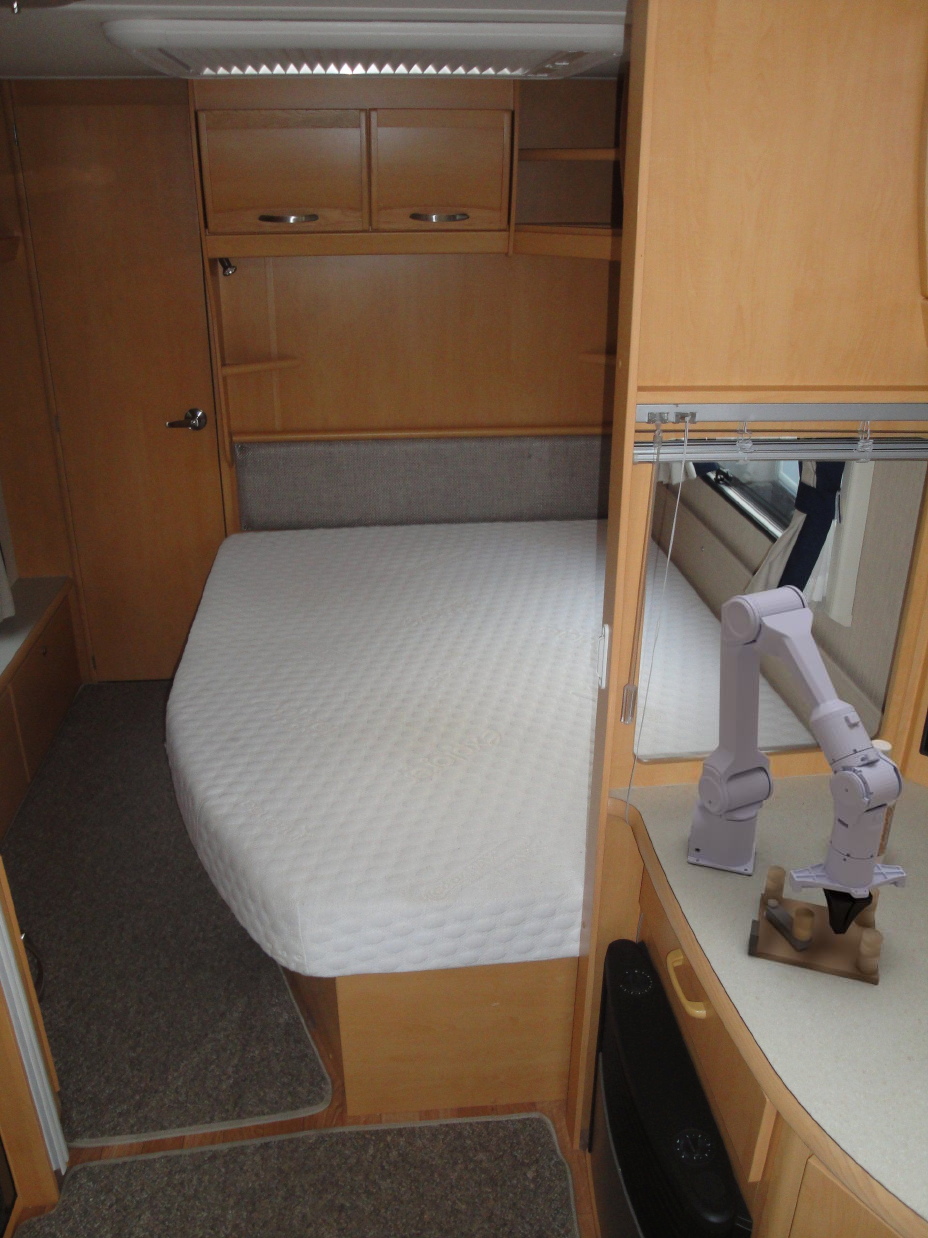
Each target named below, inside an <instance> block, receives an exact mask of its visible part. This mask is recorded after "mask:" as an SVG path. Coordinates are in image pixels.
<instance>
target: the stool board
mask: <svg viewBox="0 0 928 1238" xmlns="http://www.w3.org/2000/svg"><path fill="white" fill-rule="evenodd" d="M786 875H787V871H786V870H785V869H784V867H781V866H779V865H771V866H769V867H768V868H767V874H766V881H765V886H764V892H761V895H760V904H759V915H758V920H757V919H754V918H753V919H752V920H751V927H750V932H749V938H748V939H749V940H748V948H747V949H748V950H747V955H748V956H750V957H756V958H760V959H765V960H769V961H773V962H777V963H782V964H786V965H790V966H794V967H798V968H802V969H808V970H812V971H816V972H819V973H820V972H821V973H826V974H830V975H834V976H837V977H844V978H847V979H852V980H855V981H861V982H865V983H868V984H873V985H876V986H879V982H880V973H879V970H880V969H879V961H880V960H879V958H880V955H881V950H882V947H883V942H884V935H883V933H882V932H881V931H880V930H877V928H876V911H877V907H878V902H879V897H880V894H881V893H880V889H879V887H878V888H875V889H872V890H869V891H870V892H871V894H872V895H873V899H872V903H871V904H870V905H869V906H867V907H866V908H864V909H863V910H862V911H861V912H860V913H859V914H858V915H857V916H856V917H855V919H854V920H853V922H852V923H851V925H850V926H849V928H848V930H847V931H846V933H845V934H835V933H834V931H833V930H832V928H831V926H830V925H829V912H828V906H826V905H820V904H817V903H811V902H808V901H807V902H806V901H802V900H797V899H793V898H788V897H783V894H784V888H785V881H786V877H787V876H786ZM769 899H775V900H777V901H778V902H779V904H780V905H781V906H782V907H783V908H784V909H785V910H786V911H787V912H788V913H789V914H790V915H791V916H792V917H793V918H794V916H795V910H796V909H797V908H799V907H805V908H808V909H810V910H812V911H813V913H814V915H815V917H814V922H813V927H812V933H811V937H812V943H811V947H809V948H806V949H802V950H799V951H798V950H797V949H796V948H795V947H794V946H793V945H792V944H791V943H790V942H789V941H788V940H787V938H786V937H785V936H784V935H783V934H782V933H781V932H780V931H779V930H778V929H777V928H776V927H775V926H774V925H773V924H772V923H771V922H770V920H769V919H768V918H767V917H766V916H765V915H766V908H767V907H768V900H769Z"/></svg>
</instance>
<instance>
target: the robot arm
mask: <svg viewBox="0 0 928 1238" xmlns="http://www.w3.org/2000/svg"><path fill="white" fill-rule="evenodd" d="M720 614H721V619H720V624H721V625H720V630H721V631H720V643H719V644H720V647H719V649H720V651H719V657H720V658H719V662H720V663H719V708H718V709H719V711H718V712H719V713H718V715H719V716H718V717H719V718H718V720H719V721H718V746H717V747H716V748H715V749H714V750H713V751H712V752H711V753H710V754H709V755H708V756H707V757H706V758H705V759H704V761H703V762H702V770H701V771H702V772H701V775H700V777H699V780H698V785H697V786H698V787H697V789H698V791H697V792H698V796H699V797H695V802H694V807H693V812H692V819H691V827H690V829H689V833H688V839H687V840H688V842H689V844H688V845H689V846H688V855H687V862H688V863H690V864H695V865H698V866H699V865H700V866H704V867H709V868H714V869H718V870H724V871H729V872H733V873H738V874H739V873H740V874H743V875H747V876H750V875H751V876H752V875H753V872H754V862H755V855H756V854H755V853H756V846H757V845H756V844H757V843H756V842H755V837H756V835H755V834H756V828H757V820H758V816H759V815H758V814H759V810H760V809H762V808H763V805H764V801H767V800H769V799H770V798H771V797H772V796H773V794H774V793H773V792H774V789H775V787H774V786H775V785H774V778H773V775H772V772H771V768H770V767H771V766H770V765H771V764H770V763H771V759H770V758H769V757H768V755H766V754H765V752H763V751H761V750H760V749H758V746H759V745H758V743H759V741H758V740H759V733H758V732H759V710H760V709H759V706H760V705H759V704H760V676H761V675H760V674H761V673H760V672H761V667H760V666H761V652H763V653H765V654H769V655H773V656H776V657H779V658H781V660H782V661H783V663H784V665H785V667H786V668H787V670H788V672H789V674H791V676H792V678H793V680H794V681H795V683H796V685H797V686H798V688H799V690H800V692H801V693H802V695H803V696H804V698H805V700H806V701H807V703H808V704H809V706H810V708H811V710H812V712H811V715H810V719H809V726H810V729H811V731H812V732H813V735H814V737H815V739H816V741H817V742H818V745H819V747H820V749H821V751H822V753H823V754H824V758H825V759H826V762H827V763H828V765H829V767H830V769H831V771H832V773H833V775H834V776H832V777H829V780H828V781H829V790H830V793H831V796H832V800H833V804H832V811H833V814H834V816H833V822H832V828H831V832H830V839H829V843H828V848H827V854H826V859H825V860H824V861H822V862H819V863H815V864H812V865H810V866H807V867H804V868H801V869H792V870H790V871H789V875H788V881H787V882H788V884H789V886H790V888H791V890H792V891H793V892H794V893H800V892H802V890H803V889H815V888H821V889H822V891H823V893H824V896H825V901H826V905H827V906H826V907H828V912H829V925H830V926H831V928H832V930H833V931H834V933H835V934H845V933H846V931H847V930H848V928H849V926H850V925H851V923H852V922H853V920H854V919H855V917H856V916H857V915H858V914H859V913H860V912H861V911H862V910H863V909H864V908H866V907H867V906H869V905H870V904H871V903H872V899H873V895H872V894H871V892H870V891H869V890H872V889H875V888H878V889H879V888H880V887H884V886H885V885H894V886H895V887H896V888H905V885H906V881H907V878H908V875H907V874H906V873H905V871H904V869H903V868H902V867H901V866H900V865H888V864H887V865H886V864H883V863H882V864H876V859H877V855H878V850H879V845H880V841H881V836H882V831H883V827H884V822H885V817H886V812H887V808H888V804H886V803H889V802H891V801H893V800H895V799H897V800H898V798H899V797H900V796H901V795H902V792H903V788H904V785H903V784H904V783H903V777H902V775H901V772H900V771H899V766H898V765H897V764H896V763H895V762H894V761H893V760H892V759H891V758H890V759H889V758H888V757H886V756H885V755H883V753H882V752H881V750H879V749H878V748H874V746H873V744H872V742H871V741H872V740H871V738H870V737H869V734H868V733H867V731H866V729H865V726H864V725H863V723H862V721H861V719H860V717H859V715H858V713H857V711H856V709H855V707H854V706H853V705H852V704H850V703H847V702H845V701H843V700H841V699H839V696H838V694H837V691H836V689H835V687H834V685H833V682H832V680H831V677H830V675H829V673H828V670H827V668H826V665H825V663H824V661H823V658H822V656H821V653H820V651H819V649H818V646H817V644H816V642H815V639H814V637H813V634H812V627H813V623H814V614H813V612H812V610H811V609H810V607H809V604H808V601H807V599H806V597H805V594H804V593H803V592H802V591H801V590H800V589H799V588H798V587H796V586H795V585H791V584H790V585H789V584H788V585H787V584H786V585H783V586H780V587H777V588H773V589H767V590H763V591H758V592H754V593H747V594H745V595H738V594H737V595H735V596H733V597H731V598H730V599H729V600H727V601H726V602H724V603H722V605H721V613H720Z"/></svg>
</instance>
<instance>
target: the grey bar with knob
mask: <svg viewBox="0 0 928 1238" xmlns="http://www.w3.org/2000/svg"><path fill="white" fill-rule="evenodd" d="M765 916H766V917H767V918H768V919H769V920H770V922H771V923H772V924H773V925H774V926H775V927H776V928H777V929H778V930H779V931H780V932H781V933H782V934H783V935H784V936H785V937H786V938H787V940H788V941H789V942H790V943H791V944H792V945H793V946H794V947H795V948H796V949H797V950H798V951H799V950H802V949H806V948H809V947H811V943H812V937H811V933H812V927H813V922H814V917H815V915H814V913H813V911H812V910H810V909H808V908H805V907H799V908H797V909H796V910H795V916H794V918H793V917H792V916H791V915H790V914H789V913H788V912H787V911H786V910H785V909H784V908H783V907H782V906H781V905H780V904H779V902H778V901H777V900H775V899H769V900H768V907H767V908H766V915H765Z"/></svg>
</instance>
